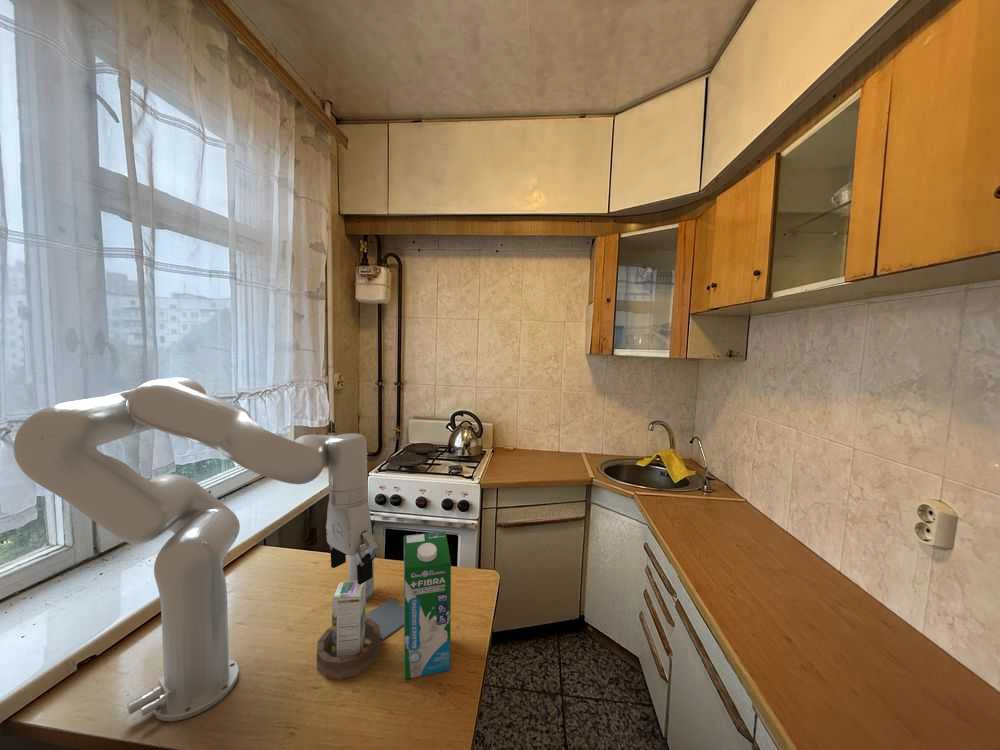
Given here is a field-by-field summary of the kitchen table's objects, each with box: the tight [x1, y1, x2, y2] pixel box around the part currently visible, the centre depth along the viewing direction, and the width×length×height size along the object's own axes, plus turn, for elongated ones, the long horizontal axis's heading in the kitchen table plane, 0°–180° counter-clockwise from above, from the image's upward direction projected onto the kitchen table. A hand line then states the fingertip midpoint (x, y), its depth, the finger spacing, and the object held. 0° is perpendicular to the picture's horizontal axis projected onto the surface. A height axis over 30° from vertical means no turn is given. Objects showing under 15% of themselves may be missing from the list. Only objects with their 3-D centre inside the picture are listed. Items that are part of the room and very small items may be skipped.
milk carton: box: [403, 530, 452, 680], centre depth 78 cm, size 9×9×25 cm
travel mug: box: [347, 519, 376, 602], centre depth 98 cm, size 6×7×20 cm
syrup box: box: [331, 580, 367, 658], centre depth 79 cm, size 6×6×14 cm
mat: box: [365, 598, 404, 642], centre depth 90 cm, size 10×10×1 cm
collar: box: [316, 618, 382, 681], centre depth 79 cm, size 12×12×4 cm
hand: (351, 572), depth 79 cm, fingers open, 9 cm apart
